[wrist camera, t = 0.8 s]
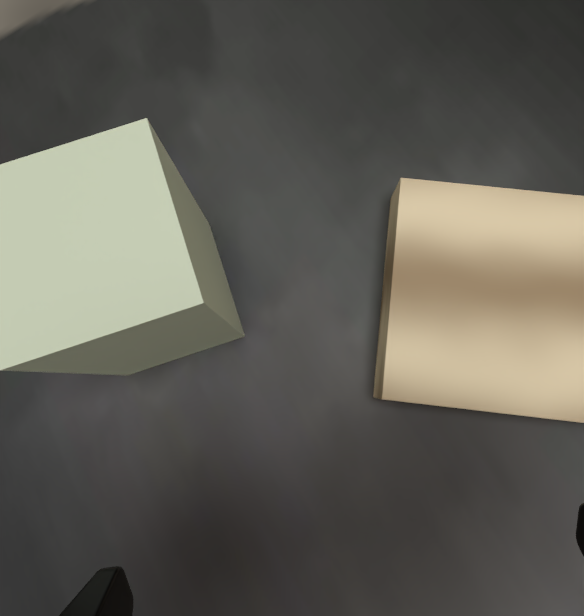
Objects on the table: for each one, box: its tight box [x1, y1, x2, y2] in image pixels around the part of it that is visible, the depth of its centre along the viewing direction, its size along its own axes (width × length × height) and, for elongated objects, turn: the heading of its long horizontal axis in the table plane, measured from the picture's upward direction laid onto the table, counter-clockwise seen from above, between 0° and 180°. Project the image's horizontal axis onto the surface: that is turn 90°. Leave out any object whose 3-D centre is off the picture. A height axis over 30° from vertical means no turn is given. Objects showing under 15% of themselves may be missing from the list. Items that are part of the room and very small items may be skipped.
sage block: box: [0, 118, 245, 375], centre depth 19 cm, size 6×6×10 cm
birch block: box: [373, 178, 584, 423], centre depth 22 cm, size 10×10×3 cm
